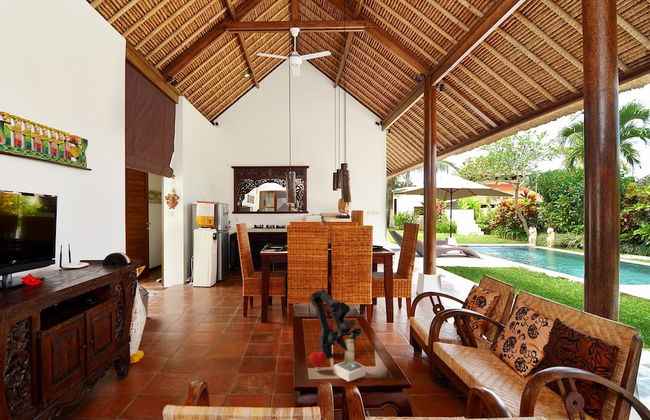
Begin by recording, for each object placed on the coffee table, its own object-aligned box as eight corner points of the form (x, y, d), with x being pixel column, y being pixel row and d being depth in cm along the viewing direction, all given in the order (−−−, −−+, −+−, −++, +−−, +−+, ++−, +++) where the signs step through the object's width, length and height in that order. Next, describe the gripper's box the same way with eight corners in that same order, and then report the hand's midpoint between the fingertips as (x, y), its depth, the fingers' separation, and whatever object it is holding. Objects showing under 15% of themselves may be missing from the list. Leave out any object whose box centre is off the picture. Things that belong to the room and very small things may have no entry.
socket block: (333, 373, 178) (333, 364, 178) (350, 367, 185) (350, 358, 185) (348, 381, 168) (348, 372, 168) (365, 374, 176) (365, 365, 176)
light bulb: (326, 368, 184) (326, 349, 184) (327, 374, 177) (327, 354, 177) (309, 368, 183) (309, 350, 184) (309, 374, 176) (309, 355, 177)
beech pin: (343, 359, 179) (343, 339, 179) (352, 358, 180) (352, 338, 180) (346, 363, 174) (346, 342, 174) (355, 362, 175) (355, 341, 176)
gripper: (330, 316, 177) (340, 345, 167) (360, 312, 185) (371, 339, 175) (323, 327, 184) (333, 355, 174) (353, 323, 192) (363, 349, 182)
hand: (350, 349), depth 176 cm, fingers closed on beech pin, 5 cm apart
